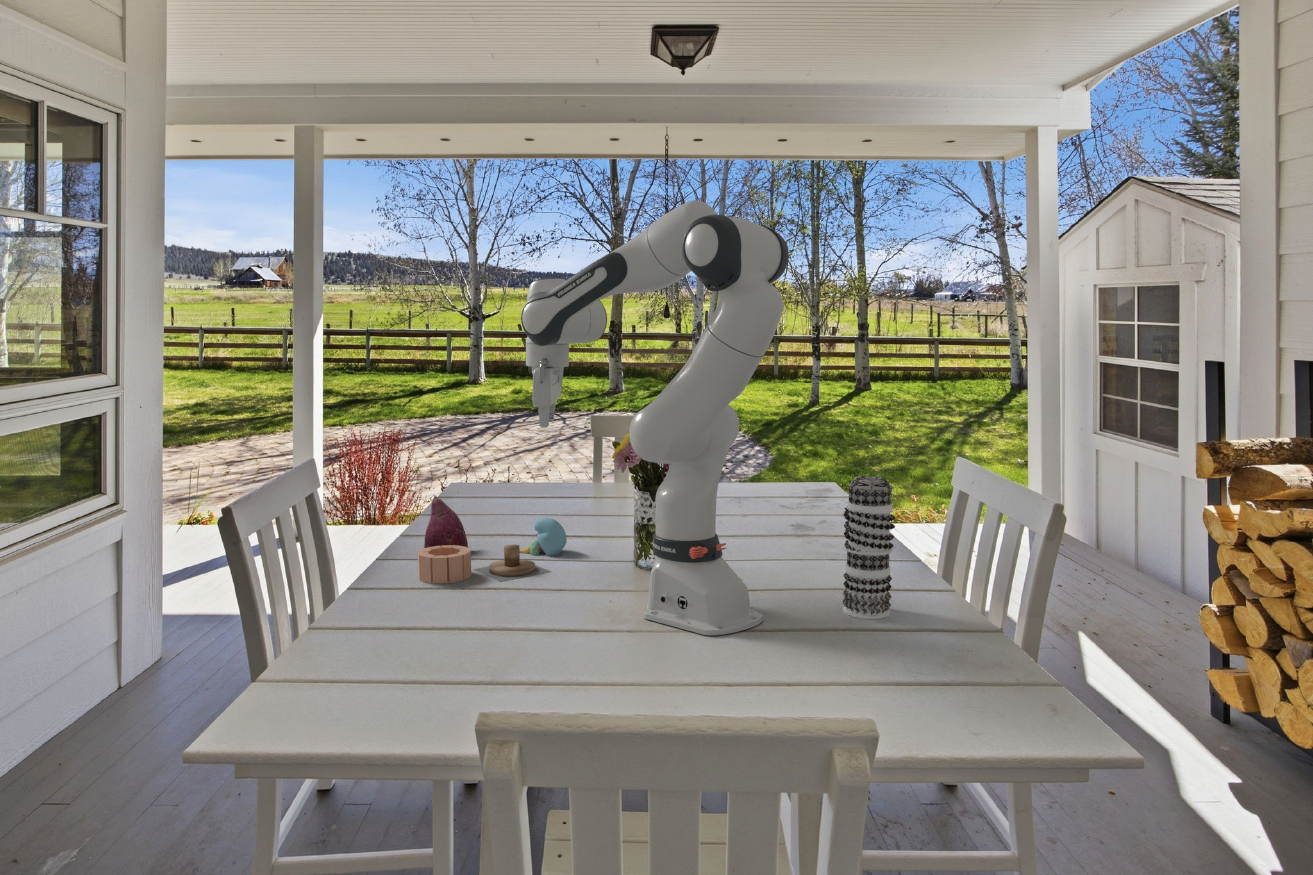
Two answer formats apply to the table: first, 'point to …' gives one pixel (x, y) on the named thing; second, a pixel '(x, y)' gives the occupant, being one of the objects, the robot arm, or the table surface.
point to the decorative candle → (868, 548)
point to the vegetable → (444, 526)
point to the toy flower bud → (547, 538)
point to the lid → (512, 564)
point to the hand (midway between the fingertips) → (546, 424)
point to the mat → (501, 578)
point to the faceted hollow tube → (444, 564)
